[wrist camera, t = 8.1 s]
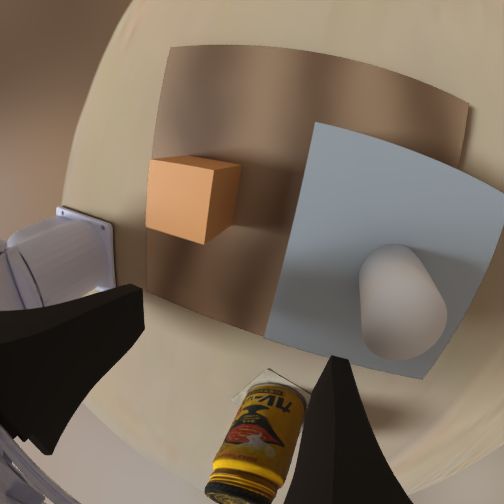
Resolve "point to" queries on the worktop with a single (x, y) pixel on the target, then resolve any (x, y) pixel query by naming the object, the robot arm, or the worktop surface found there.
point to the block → (191, 196)
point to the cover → (382, 254)
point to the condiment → (259, 442)
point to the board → (273, 157)
